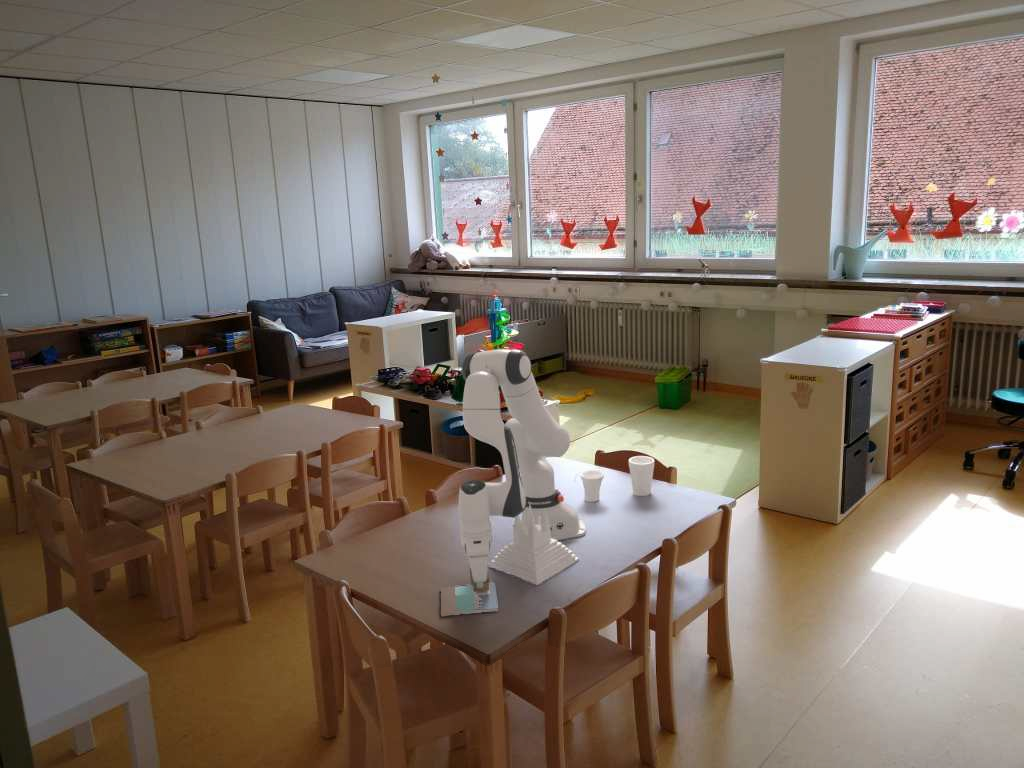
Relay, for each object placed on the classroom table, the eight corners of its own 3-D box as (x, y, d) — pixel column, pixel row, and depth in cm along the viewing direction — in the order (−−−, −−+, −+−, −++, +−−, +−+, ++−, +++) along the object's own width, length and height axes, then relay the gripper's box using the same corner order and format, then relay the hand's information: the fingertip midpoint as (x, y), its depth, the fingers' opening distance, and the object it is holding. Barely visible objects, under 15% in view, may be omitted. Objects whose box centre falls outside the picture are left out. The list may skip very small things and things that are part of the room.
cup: (590, 505, 281) (589, 480, 279) (576, 498, 289) (575, 472, 287) (610, 500, 285) (609, 474, 283) (595, 492, 293) (594, 467, 291)
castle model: (578, 560, 240) (577, 505, 236) (537, 586, 226) (534, 528, 222) (530, 544, 253) (527, 491, 249) (488, 567, 239) (484, 512, 235)
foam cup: (656, 497, 286) (656, 463, 283) (631, 498, 286) (630, 465, 283) (652, 487, 295) (651, 455, 292) (627, 488, 295) (627, 456, 292)
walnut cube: (470, 583, 225) (469, 567, 224) (488, 581, 225) (487, 565, 224) (471, 591, 220) (470, 575, 219) (489, 590, 220) (488, 574, 219)
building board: (494, 585, 227) (494, 581, 227) (498, 611, 213) (498, 607, 212) (440, 590, 226) (440, 586, 226) (440, 617, 211) (440, 613, 211)
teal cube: (474, 601, 217) (473, 585, 216) (475, 610, 212) (473, 593, 211) (456, 603, 216) (455, 586, 215) (456, 612, 211) (455, 595, 210)
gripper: (464, 523, 229) (467, 565, 232) (466, 553, 209) (469, 600, 212) (485, 521, 229) (488, 564, 232) (489, 551, 209) (492, 597, 213)
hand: (479, 581), depth 222 cm, fingers closed on walnut cube, 5 cm apart
